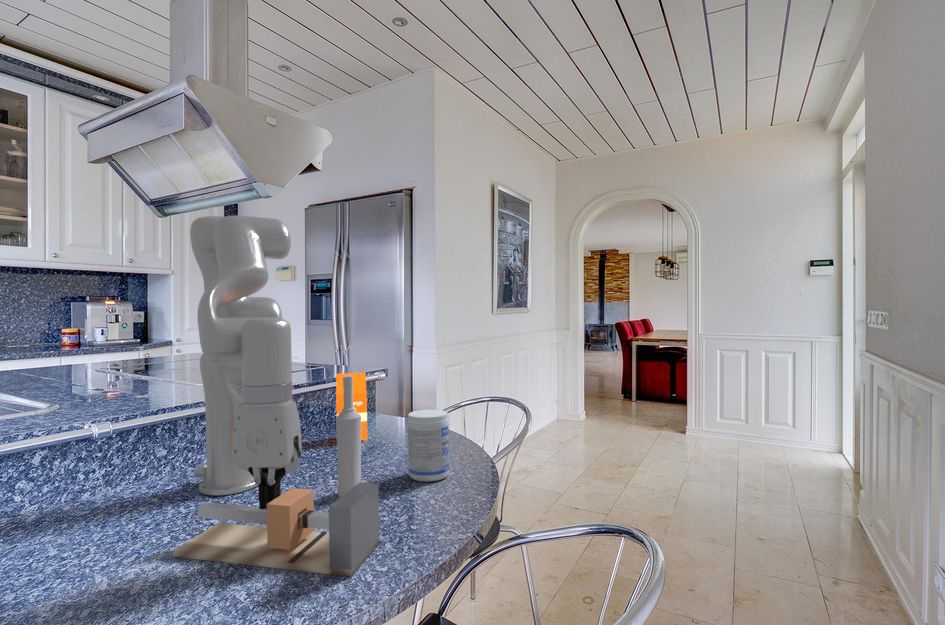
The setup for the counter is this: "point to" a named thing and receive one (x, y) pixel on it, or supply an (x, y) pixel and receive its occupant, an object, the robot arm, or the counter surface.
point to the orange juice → (354, 398)
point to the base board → (261, 549)
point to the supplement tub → (428, 445)
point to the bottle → (348, 441)
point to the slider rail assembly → (325, 523)
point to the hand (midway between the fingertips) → (269, 506)
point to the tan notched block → (288, 518)
